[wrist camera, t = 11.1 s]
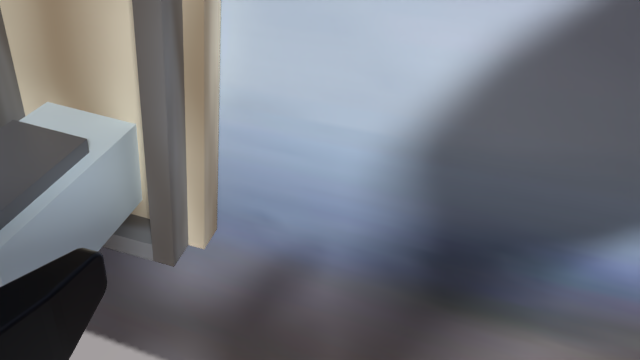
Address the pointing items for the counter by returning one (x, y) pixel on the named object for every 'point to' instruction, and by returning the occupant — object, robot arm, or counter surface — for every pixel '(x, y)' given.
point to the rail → (130, 99)
